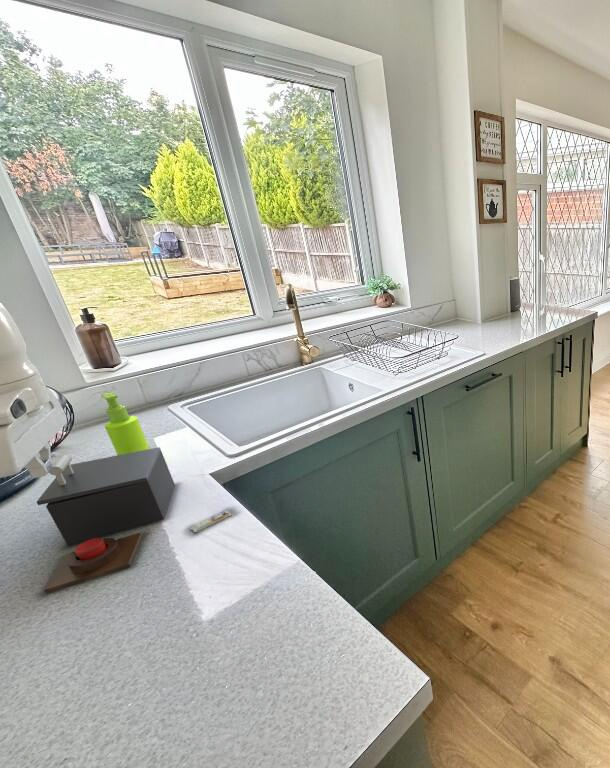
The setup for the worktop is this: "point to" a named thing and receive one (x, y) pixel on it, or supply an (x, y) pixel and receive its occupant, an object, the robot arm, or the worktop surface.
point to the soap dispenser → (123, 428)
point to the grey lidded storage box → (114, 507)
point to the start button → (90, 548)
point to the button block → (95, 563)
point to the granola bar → (210, 521)
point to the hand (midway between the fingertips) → (44, 472)
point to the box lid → (98, 474)
